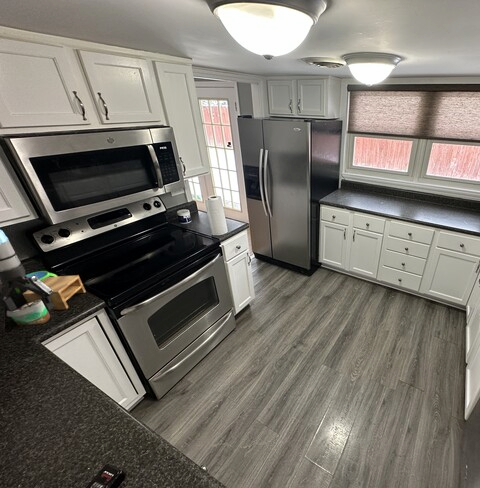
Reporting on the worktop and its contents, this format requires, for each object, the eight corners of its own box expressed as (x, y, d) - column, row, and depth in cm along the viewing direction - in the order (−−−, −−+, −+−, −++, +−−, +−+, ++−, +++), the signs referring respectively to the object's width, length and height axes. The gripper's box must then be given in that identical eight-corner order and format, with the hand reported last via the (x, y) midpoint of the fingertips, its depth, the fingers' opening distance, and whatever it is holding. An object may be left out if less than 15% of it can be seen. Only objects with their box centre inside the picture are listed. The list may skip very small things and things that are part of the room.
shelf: (32, 311, 122) (22, 293, 118) (54, 293, 135) (46, 277, 130) (66, 308, 124) (58, 291, 120) (85, 291, 137) (78, 275, 133)
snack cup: (17, 303, 127) (6, 285, 123) (25, 291, 135) (16, 275, 131) (60, 294, 134) (51, 277, 130) (65, 284, 142) (58, 267, 138)
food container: (24, 334, 109) (13, 315, 105) (16, 330, 111) (4, 311, 107) (60, 316, 120) (51, 298, 116) (52, 312, 122) (42, 295, 118)
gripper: (51, 260, 109) (71, 301, 118) (-21, 264, 105) (6, 307, 114) (36, 270, 102) (59, 312, 111) (-41, 274, 98) (-11, 318, 107)
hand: (32, 310), depth 113 cm, fingers open, 13 cm apart
